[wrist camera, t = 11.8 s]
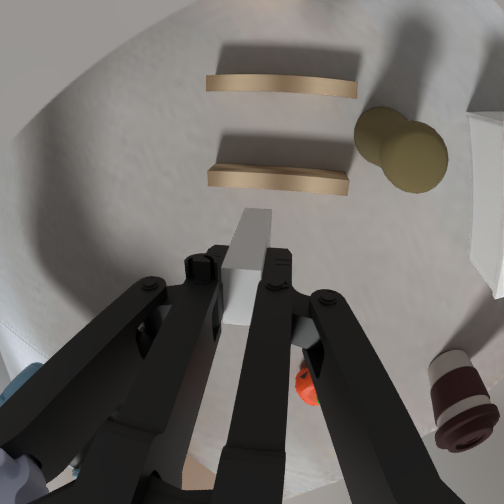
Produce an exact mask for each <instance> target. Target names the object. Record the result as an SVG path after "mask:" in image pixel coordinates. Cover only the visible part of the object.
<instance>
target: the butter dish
mask: <svg viewBox="0 0 504 504" xmlns="http://www.w3.org/2000/svg"><path fill="white" fill-rule="evenodd" d="M466 117H467V126H468V136H469V148H470V167H471V220H470V238H469V251H468V258H469V260H470V261H471V262H472V263H473V265H474V266H475V267H476V269H477V270H478V271H479V273H480V274H481V275H482V277H483V278H484V280H485V281H486V282H487V284H488V285H489V287H490V288H491V289H492V291H493V294H492V296H493V297H494V299H499V298H502V297H504V111H482V112H466Z"/></svg>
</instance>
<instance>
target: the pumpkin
mask: <svg viewBox="0 0 504 504" xmlns="http://www.w3.org/2000/svg"><path fill="white" fill-rule="evenodd" d="M295 388H296V391H297V393H298V394H299V396H300V397H301V398H302V400H304V401H305V402H306V403H307V404H309V405H313V406H315V405H320V403H319V400H318V397H317V394H316V391H315V388H314V385H313V382H312V379H311V376H310V373H309V370H308V367H307V365H306V366H305V367H304V368H302V369H301V370H300V372H299V373H298V374H297V376H296V384H295Z"/></svg>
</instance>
